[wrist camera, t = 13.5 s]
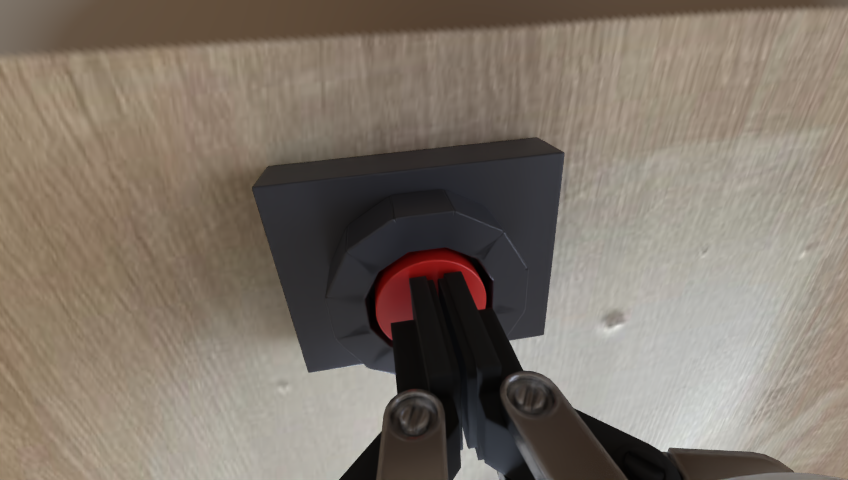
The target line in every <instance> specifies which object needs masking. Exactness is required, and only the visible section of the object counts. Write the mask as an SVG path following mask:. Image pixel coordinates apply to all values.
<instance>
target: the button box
mask: <svg viewBox="0 0 848 480" xmlns="http://www.w3.org/2000/svg"><path fill="white" fill-rule="evenodd" d="M563 163H564V152H563V151H561V150H559V149H557V148H555V147H554V146H552V145H550V144H548V143H547V142H545V141H543V140H541V139H539V138H537V137H536V138H527V139H518V140H508V141H499V142H490V143H480V144H471V145H462V146H453V147H443V148H434V149H425V150H415V151H406V152H397V153H388V154H378V155H369V156H360V157H350V158H341V159H332V160H322V161H313V162H304V163H295V164H285V165H276V166H268V167H267V168H266V169H265V170H264V172H263V173H262V175H261V176H260V177H259V179H258V180H257V181H256V183H255V184H254V186H253V187H252V191H253V194H254V197H255V200H256V204H257V207H258V210H259V213H260V217H261V220H262V223H263V226H264V230H265V233H266V236H267V239H268V243H269V246H270V249H271V252H272V256H273V259H274V262H275V266H276V269H277V272H278V275H279V279H280V282H281V285H282V288H283V292H284V295H285V298H286V301H287V305H288V308H289V311H290V314H291V318H292V321H293V324H294V327H295V331H296V334H297V337H298V340H299V344H300V347H301V350H302V353H303V357H304V360H305V363H306V366H307V370H308V372H309V373H311V372H317V371H323V370H329V369H335V368H342V367H348V366H354V365H360V364H364V365H365V366H366V367H368V368H370V369H373V370H378V371H382V372H387V373H391V374H395V375H396V373H395V363H394V353H393V343H392V340H391V339H390V338H389V337H388V336H387V335H386V334H385V333H384V332H383V331H382V329H381V328H380V326H379V324H378V321H377V317H376V308H375V290H374V281H375V279H376V277H377V275H378V273H379V272H380V271H381V270H383V269H384V268H386V267H387V266H389V265H390V264H392V263H393V262H395V261H396V260H398V259H399V258H401V257H402V256H404V255H405V254H407V253H408V252H415V251H422V250H430V249H437V248H445V247H446V248H449V249H451V250H454V251H457V252H460V253H462V254H465V255H468V256H470V258H471V260H472V262H473V264H474V266H475V268H476V270H477V272H478V275H479V277H480V279H481V281H482V283H483V285H484V287H485V291H486V306H485V309H487V308H492V309H493V310H494V312H495V313H496V315H497V318H498V320H499V322H500V324H501V326H502V328H503V330H504V332H505V334H506V336H507V338H508V340H515V339H521V338H528V337H534V336H540V335H543V334H544V328H545V319H546V311H547V302H548V293H549V285H550V276H551V267H552V259H553V250H554V241H555V233H556V224H557V215H558V206H559V198H560V189H561V180H562V172H563Z"/></svg>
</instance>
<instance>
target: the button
mask: <svg viewBox="0 0 848 480" xmlns="http://www.w3.org/2000/svg"><path fill="white" fill-rule="evenodd" d="M458 271H461V272H462V274H463V276H464V279H465V281H466V283H467V286H468V288H469V290H470V293H471V295H472V297H473V300H474V302H475V304H476V307H477V309H478V310H481V309H485V306H486V291H485V287H484V285H483V283H482V281H481V279H480V277H479V275H478V272H477V270H476V268H475V266H474V264H473V262H472V260H471V258H470V256H468V255H465V254H462V253H460V252H457V251H454V250H451V249H449V248H446V247H445V248H437V249H430V250H422V251H415V252H408V253H407V254H405V255H404V256H402V257H401V258H399V259H398V260H396V261H395V262H393V263H392V264H390V265H389V266H387V267H386V268H384V269H383V270H381V271H380V272H379V273H378V275H377V277H376V279H375V281H374V290H375V308H376V317H377V321H378V324H379V326H380V328H381V329H382V331H383V332H384V333H385V334H386V335H387V336H388V337H389V338H390V339H391V340H392V333H391V323H394V322H400V321H407V320H413V313H412V304H411V294H410V285H409V278H414V277H421V276H426V278H427V280H433V281H434V284H435V287H436V291H437V294H438V297H439V292H438V279H440V278H444V273H450V272H458Z"/></svg>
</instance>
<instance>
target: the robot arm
mask: <svg viewBox="0 0 848 480" xmlns="http://www.w3.org/2000/svg"><path fill="white" fill-rule="evenodd" d="M409 285H410V294H411V304H412V313H413V320H407V321H400V322H394V323H391V333H392V343H393V353H394V363H395V373H396V383H397V393H398V394H397V395H396V396H395V397H394V398H392V399H391V400H390V402H389V403H388V405H387V406H386V409H385V412H384V416H383V425H382V431H381V432H380V434H379V435H378V436H377V437H376V438H375V439H374V440H373V442H372V443H371V444H370V445H369V446H368V447H367V448H366V450H365V451H364V452H363V453H362V454H361V455H360V456H359V457H358V459H357V460H356V461H355V462H354V463H353V464H352V465H351V467H350V468H349V469H348V470H347V471H346V472H345V473H344V475H343V476H342V477H341V478H340V479H339V480H453V479H454V477H455V476H456V474H457V473H458V471H459V470H460V468H461V458H460V450H463V437H462V427H463V431H464V435H465V439H466V443H467V446H468V448H469V449H470V448H475V449H476V453H477V457H478V460H482V459H484V461H485V463H486V464H488V465H489V466H491V467H492V468H494V469H495V470H497V474H498V477H499V480H848V479H843V478H838V477H833V476H826V475H819V474H811V473H795V472H794V471H793V470H791V469H790V468H788V467H787V466H786V465H784V464H783V463H781V462H780V461H778V460H776V459H774V458H772V457H769V456H767V455H765V454H760V453H755V452H742V451H723V450H703V449H683V448H669V449H668V452H661V451H660V450H658V449H656V448H655V447H653V446H651V445H650V444H648V443H646V442H643V441H641V440H639V439H637V438H635V437H633V436H631V435H629V434H627V433H625V432H623V431H620V430H618V429H616V428H614V427H612V426H610V425H608V424H606V423H604V422H602V421H599V420H597V419H595V418H593V417H591V416H589V415H587V414H585V413H583V412H581V411H578V410H576V409H574V408H573V407H572V405H571V404H570V403H569V402H568V400H567V399H566V398H565V396H564V395H563V394H562V392H561V391H560V390H559V388H558V387H557V386H556V385H555V384H554V383H553V382H552V381H551V380H550V379H549V378H547V377H545V376H544V375H542V374H539V373H536V372H533V371H523V369H522V367H521V365H520V363H519V361H518V359H517V357H516V355H515V352H514V350H513V348H512V346H511V344H510V342H509V340H508V338H507V336H506V334H505V332H504V330H503V328H502V326H501V324H500V322H499V320H498V318H497V315H496V313H495V312H494V310H493V309H492V308H487V309H481V310H478V309H477V307H476V304H475V302H474V300H473V297H472V295H471V293H470V290H469V288H468V286H467V283H466V281H465V279H464V276H463V274H462V272H461V271H458V272H450V273H444V278H440V279H438V292H439V297H438V294H437V291H436V287H435V284H434V281H433V280H427V278H426V276H421V277H414V278H409Z"/></svg>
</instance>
